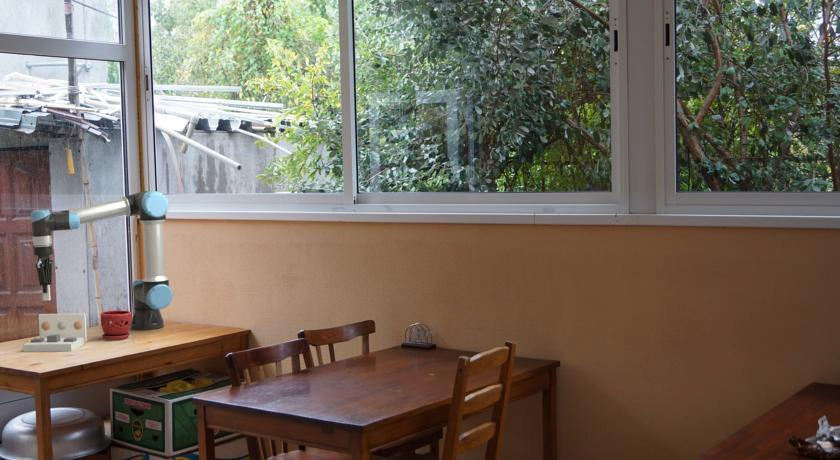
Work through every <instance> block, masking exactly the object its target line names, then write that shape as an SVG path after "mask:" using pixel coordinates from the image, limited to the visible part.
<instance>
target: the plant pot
mask: <svg viewBox="0 0 840 460" xmlns="http://www.w3.org/2000/svg"><path fill="white" fill-rule="evenodd" d="M132 317H133V315H132V311H130V310H121V309H120V310H119V309H118V310H107V311H102V312H101V313H100V326H101V329H102V332H103V334H102V335H101V336H102V339H105V340H106V341H120V340H125V339H127V338H129V336H130V335H131V334H130V333H129V331H130V329H131V321H132Z"/></svg>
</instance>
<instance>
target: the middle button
mask: <svg viewBox="0 0 840 460" xmlns="http://www.w3.org/2000/svg"><path fill="white" fill-rule="evenodd" d="M58 341H60V334H55V335H49V336H47V342H58Z"/></svg>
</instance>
